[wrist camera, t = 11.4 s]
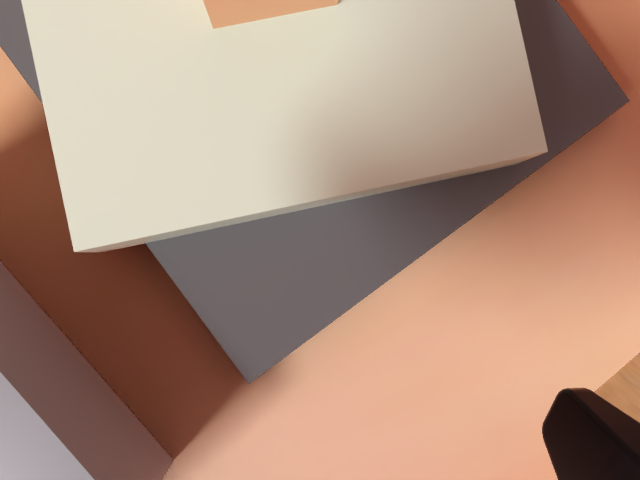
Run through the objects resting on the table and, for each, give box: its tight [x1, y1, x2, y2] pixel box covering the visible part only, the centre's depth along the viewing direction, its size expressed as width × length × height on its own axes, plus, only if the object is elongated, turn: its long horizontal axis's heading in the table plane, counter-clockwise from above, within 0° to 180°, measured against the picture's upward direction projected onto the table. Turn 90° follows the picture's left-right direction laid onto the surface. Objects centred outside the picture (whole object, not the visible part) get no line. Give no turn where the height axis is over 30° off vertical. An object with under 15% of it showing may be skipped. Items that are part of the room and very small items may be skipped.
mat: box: [0, 0, 630, 384], centre depth 16 cm, size 16×13×1 cm
